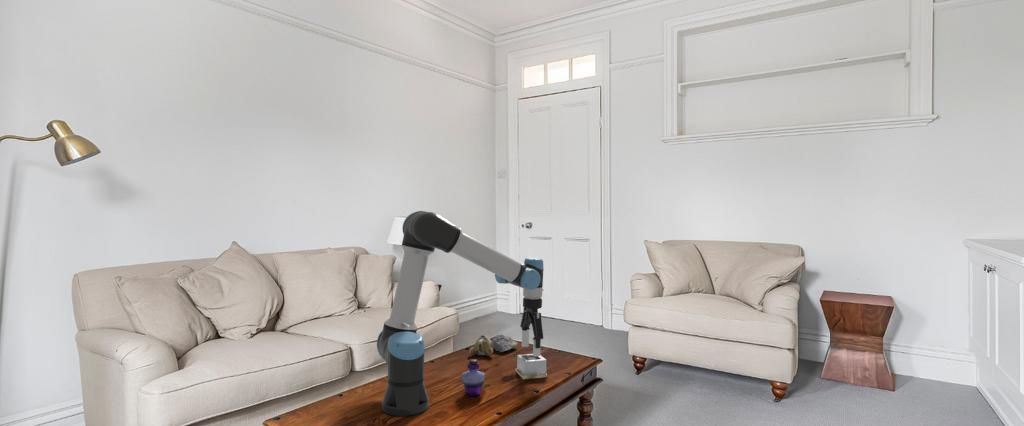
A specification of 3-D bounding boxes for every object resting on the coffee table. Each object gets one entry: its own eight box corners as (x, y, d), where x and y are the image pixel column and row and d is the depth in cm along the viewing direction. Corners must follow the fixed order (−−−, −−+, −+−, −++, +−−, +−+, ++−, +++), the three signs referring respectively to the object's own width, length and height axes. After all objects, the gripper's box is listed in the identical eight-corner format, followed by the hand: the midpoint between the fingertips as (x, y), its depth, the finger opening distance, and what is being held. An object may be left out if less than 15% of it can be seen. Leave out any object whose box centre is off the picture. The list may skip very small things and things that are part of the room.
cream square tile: (523, 379, 202) (523, 363, 202) (515, 371, 211) (515, 356, 211) (547, 377, 205) (547, 361, 205) (538, 369, 214) (539, 354, 214)
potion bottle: (489, 396, 184) (489, 362, 184) (465, 400, 180) (466, 365, 180) (479, 388, 192) (479, 355, 191) (457, 391, 188) (457, 358, 187)
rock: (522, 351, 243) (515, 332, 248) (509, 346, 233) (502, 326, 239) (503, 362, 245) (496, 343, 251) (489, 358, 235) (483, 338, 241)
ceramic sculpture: (496, 331, 240) (492, 341, 225) (496, 349, 241) (492, 361, 226) (473, 330, 241) (467, 340, 226) (473, 348, 242) (467, 360, 227)
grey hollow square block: (524, 375, 203) (524, 361, 203) (517, 368, 211) (517, 355, 211) (546, 374, 205) (546, 360, 205) (538, 366, 214) (538, 353, 214)
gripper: (553, 303, 197) (551, 359, 197) (531, 291, 220) (529, 342, 221) (534, 303, 194) (532, 361, 195) (514, 292, 218) (512, 343, 219)
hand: (530, 351), depth 208 cm, fingers open, 13 cm apart
